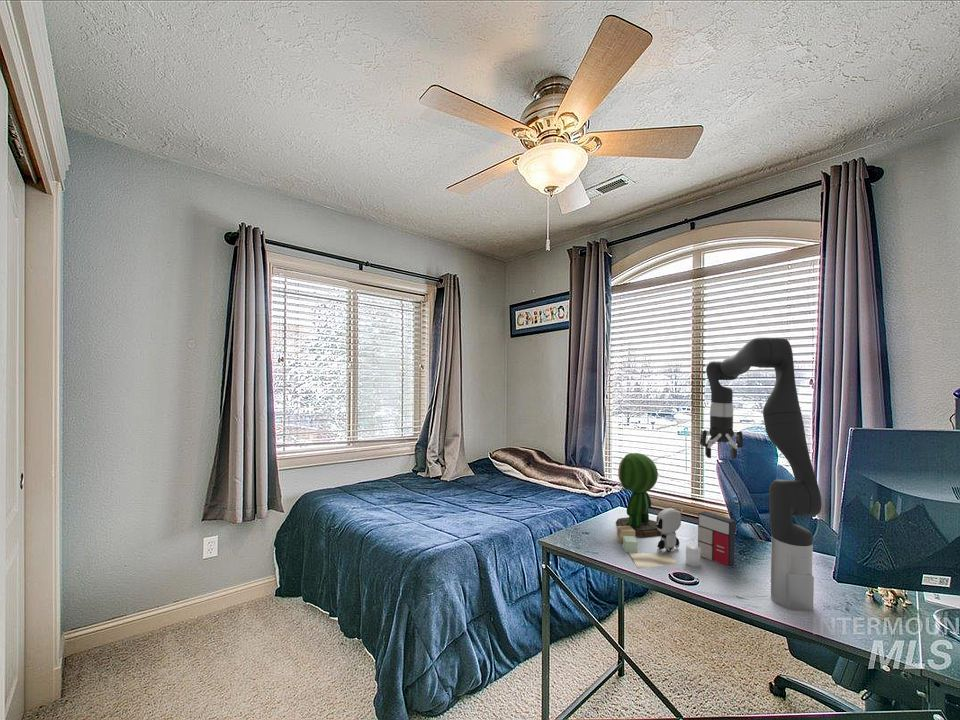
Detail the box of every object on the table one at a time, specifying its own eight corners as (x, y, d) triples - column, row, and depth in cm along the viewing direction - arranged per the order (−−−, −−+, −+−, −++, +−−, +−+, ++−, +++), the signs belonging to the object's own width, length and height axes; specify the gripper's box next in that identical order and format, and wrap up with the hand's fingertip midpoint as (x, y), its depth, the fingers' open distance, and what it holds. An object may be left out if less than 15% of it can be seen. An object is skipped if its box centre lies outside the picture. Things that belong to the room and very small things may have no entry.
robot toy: (673, 544, 163) (673, 504, 163) (683, 549, 159) (684, 507, 159) (650, 551, 157) (650, 509, 157) (660, 556, 153) (661, 513, 153)
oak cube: (635, 544, 163) (635, 531, 163) (621, 544, 163) (622, 531, 163) (629, 539, 168) (629, 525, 168) (616, 539, 168) (617, 526, 168)
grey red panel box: (696, 556, 154) (696, 512, 154) (703, 553, 156) (703, 510, 156) (728, 568, 145) (729, 522, 145) (735, 565, 147) (736, 520, 147)
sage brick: (637, 553, 156) (637, 542, 156) (625, 552, 156) (626, 541, 156) (634, 547, 161) (634, 536, 161) (622, 546, 161) (623, 535, 161)
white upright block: (702, 569, 144) (702, 551, 144) (688, 568, 145) (688, 550, 145) (697, 563, 149) (697, 545, 149) (683, 562, 149) (684, 544, 149)
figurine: (625, 516, 192) (625, 447, 191) (672, 529, 178) (672, 454, 178) (606, 527, 179) (606, 453, 179) (654, 541, 165) (655, 461, 165)
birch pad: (683, 572, 142) (683, 571, 142) (637, 569, 143) (637, 568, 143) (671, 556, 154) (671, 554, 154) (629, 553, 155) (629, 552, 155)
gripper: (705, 415, 162) (704, 459, 163) (746, 416, 161) (746, 461, 161) (697, 413, 170) (697, 455, 170) (737, 414, 168) (736, 456, 168)
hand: (720, 458), depth 165 cm, fingers open, 8 cm apart
